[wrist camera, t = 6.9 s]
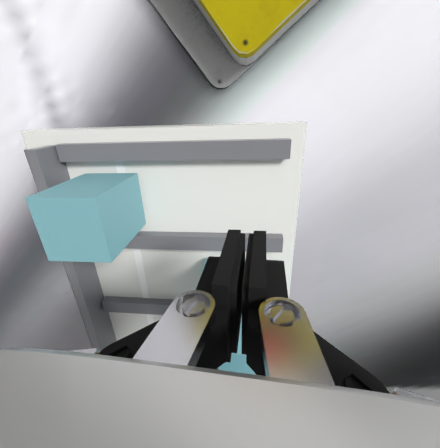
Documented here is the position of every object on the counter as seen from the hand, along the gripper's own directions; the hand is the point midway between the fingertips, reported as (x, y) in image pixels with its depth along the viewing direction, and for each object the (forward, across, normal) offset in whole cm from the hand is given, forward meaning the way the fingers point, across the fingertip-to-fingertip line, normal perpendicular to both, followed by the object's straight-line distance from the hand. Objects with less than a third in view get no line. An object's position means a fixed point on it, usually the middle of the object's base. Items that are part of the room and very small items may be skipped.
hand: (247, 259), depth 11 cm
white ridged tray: (+10, +7, +7) cm, 14 cm away
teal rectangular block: (+7, +10, 0) cm, 12 cm away
